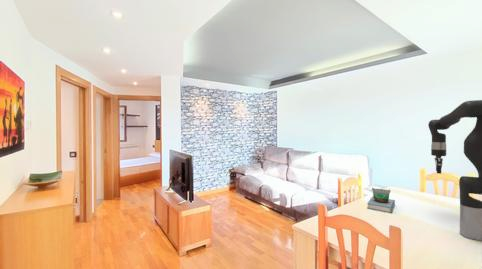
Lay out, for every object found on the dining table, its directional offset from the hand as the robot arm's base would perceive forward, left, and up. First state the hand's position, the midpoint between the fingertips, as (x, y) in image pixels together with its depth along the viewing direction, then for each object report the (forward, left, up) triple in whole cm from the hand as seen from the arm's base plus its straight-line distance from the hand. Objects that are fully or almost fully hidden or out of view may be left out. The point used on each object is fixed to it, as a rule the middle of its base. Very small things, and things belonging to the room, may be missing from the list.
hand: (438, 172), depth 144 cm
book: (-6, +32, -30) cm, 44 cm away
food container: (-7, +32, -26) cm, 42 cm away
